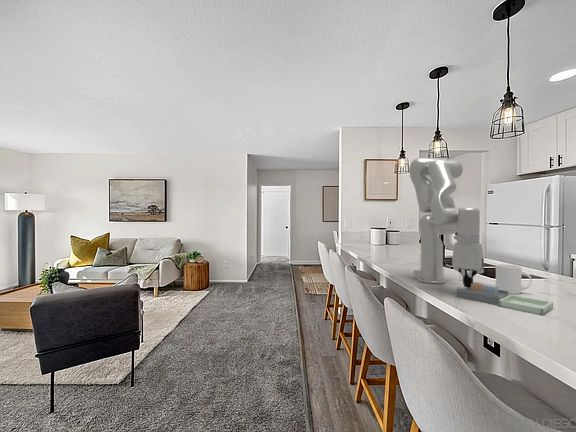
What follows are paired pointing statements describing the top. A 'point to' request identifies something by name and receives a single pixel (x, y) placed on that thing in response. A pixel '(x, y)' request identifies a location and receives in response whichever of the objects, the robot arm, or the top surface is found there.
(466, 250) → the robot arm
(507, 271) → the mug
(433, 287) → the top surface
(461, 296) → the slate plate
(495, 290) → the tile front
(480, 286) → the tan small block
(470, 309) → the top surface
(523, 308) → the tray
